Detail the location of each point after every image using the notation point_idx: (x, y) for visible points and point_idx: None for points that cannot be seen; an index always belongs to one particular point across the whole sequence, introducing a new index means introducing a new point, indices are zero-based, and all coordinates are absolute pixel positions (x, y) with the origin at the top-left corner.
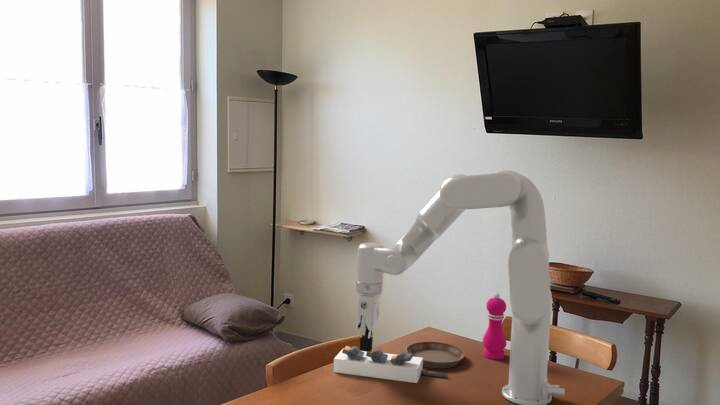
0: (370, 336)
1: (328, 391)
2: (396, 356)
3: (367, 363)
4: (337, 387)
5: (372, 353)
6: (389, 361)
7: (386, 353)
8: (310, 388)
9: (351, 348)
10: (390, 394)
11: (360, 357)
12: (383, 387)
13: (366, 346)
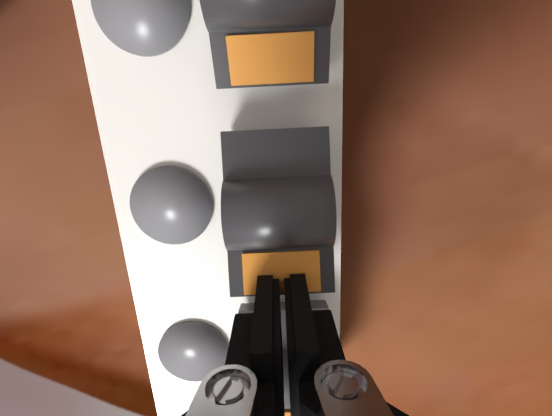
0: (321, 381)
1: (544, 318)
2: (257, 38)
3: (338, 244)
4: (493, 299)
5: (311, 249)
6: (260, 108)
7: (110, 177)
8: (523, 386)
9: (289, 407)
10: (538, 18)
11: (327, 308)
12: (446, 88)
13: (335, 329)
